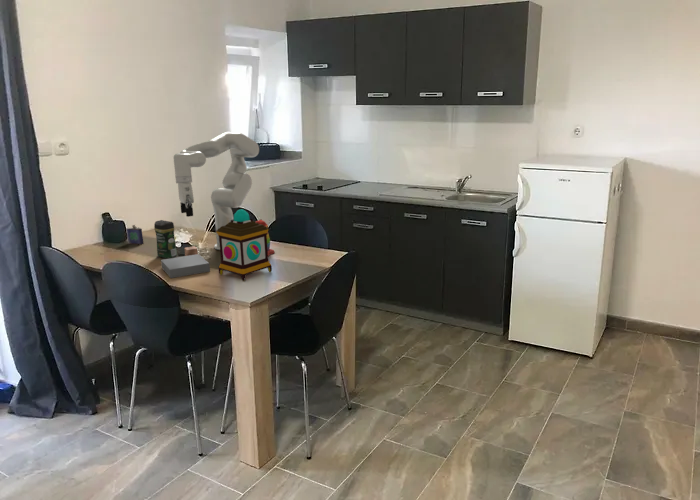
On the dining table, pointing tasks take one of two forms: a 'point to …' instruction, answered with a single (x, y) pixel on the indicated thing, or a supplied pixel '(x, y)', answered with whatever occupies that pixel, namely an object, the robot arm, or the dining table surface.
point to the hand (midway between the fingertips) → (187, 214)
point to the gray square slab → (185, 265)
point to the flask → (134, 235)
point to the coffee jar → (165, 239)
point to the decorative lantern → (243, 246)
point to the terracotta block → (190, 251)
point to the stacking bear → (267, 237)
